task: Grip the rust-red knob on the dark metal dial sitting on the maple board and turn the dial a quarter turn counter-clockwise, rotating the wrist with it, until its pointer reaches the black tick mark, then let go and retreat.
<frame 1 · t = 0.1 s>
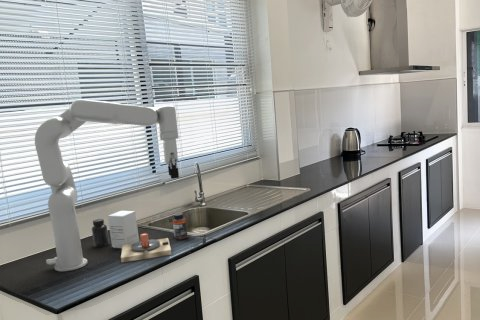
hand: (173, 176, 186), 31 cm above the worktop, fingers open, 9 cm apart
supplement bottle: (101, 245, 206), on the worktop
supplement box: (125, 245, 203), on the worktop
dial: (144, 239, 189), point 6 cm above the worktop, hinge at 0.0°
board: (146, 251, 190), on the worktop
supplement bottle 2: (181, 238, 206), on the worktop
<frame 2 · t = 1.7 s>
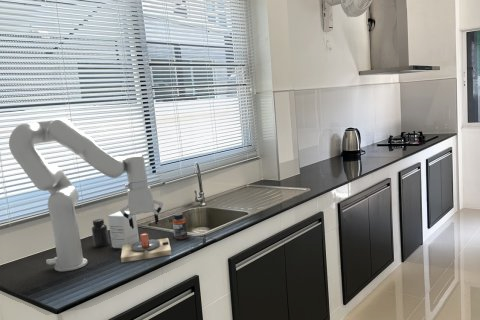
hand: (144, 225, 184), 13 cm above the worktop, fingers open, 9 cm apart
nothing on the worktop moved.
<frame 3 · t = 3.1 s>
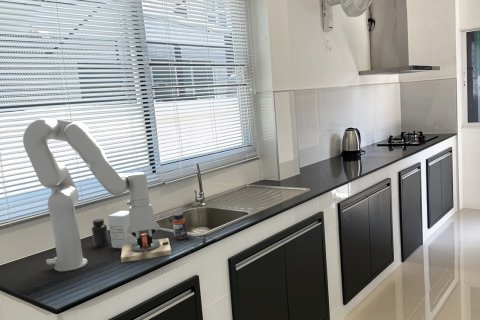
hand: (145, 245, 185), 4 cm above the worktop, fingers closed on dial, 3 cm apart
dial: (144, 239, 189), point 6 cm above the worktop, hinge at 0.0°, touching gripper
everything else where it was.
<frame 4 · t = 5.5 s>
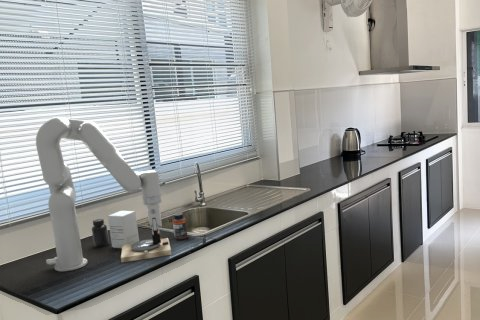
hand: (156, 241, 190), 4 cm above the worktop, fingers closed on dial, 3 cm apart
dial: (145, 238, 189), point 6 cm above the worktop, hinge at 82.0°, touching gripper
everything else where it was.
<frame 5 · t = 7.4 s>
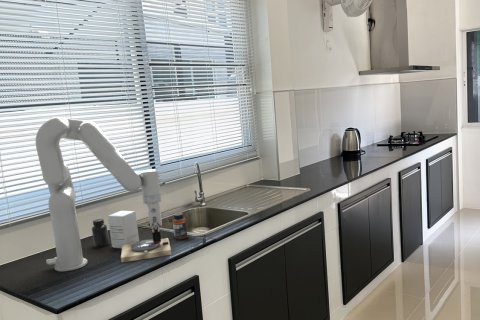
hand: (156, 238, 190), 5 cm above the worktop, fingers open, 9 cm apart
dial: (145, 238, 189), point 6 cm above the worktop, hinge at 86.5°
everything else where it was.
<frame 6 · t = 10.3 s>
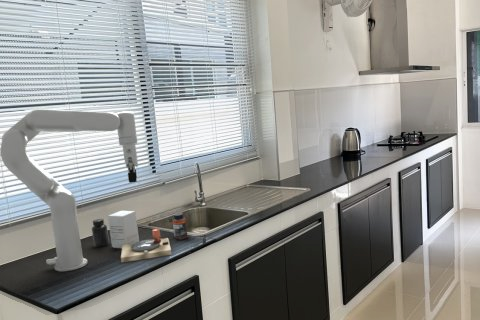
hand: (133, 180, 192), 30 cm above the worktop, fingers open, 9 cm apart
nothing on the worktop moved.
at the end: dial at +86° (first picture: +0°) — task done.
